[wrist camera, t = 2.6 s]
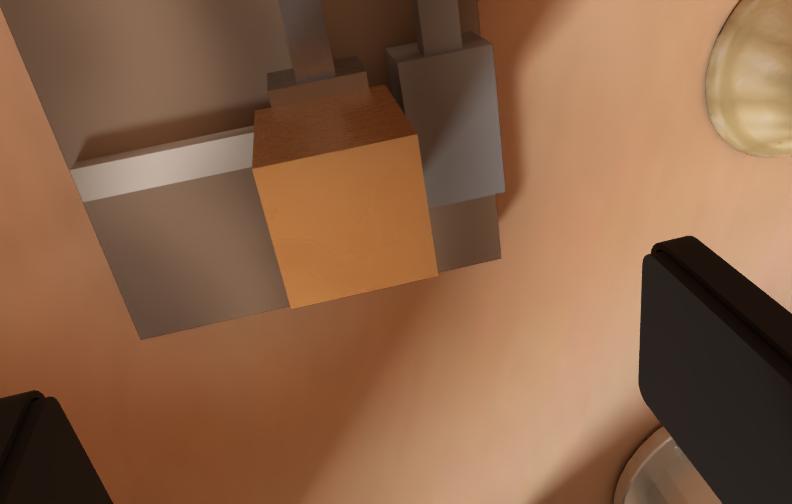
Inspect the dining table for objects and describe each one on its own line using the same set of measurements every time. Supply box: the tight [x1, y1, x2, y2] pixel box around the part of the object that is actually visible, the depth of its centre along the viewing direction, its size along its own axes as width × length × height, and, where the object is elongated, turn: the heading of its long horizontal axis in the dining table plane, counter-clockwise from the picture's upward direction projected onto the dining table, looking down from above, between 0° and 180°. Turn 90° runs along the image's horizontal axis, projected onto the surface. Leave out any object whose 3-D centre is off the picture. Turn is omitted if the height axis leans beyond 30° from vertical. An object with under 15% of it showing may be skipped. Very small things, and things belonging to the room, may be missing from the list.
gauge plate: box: [0, 0, 505, 340], centre depth 22 cm, size 15×20×5 cm
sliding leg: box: [252, 0, 438, 309], centre depth 19 cm, size 4×12×8 cm, turn 8°
